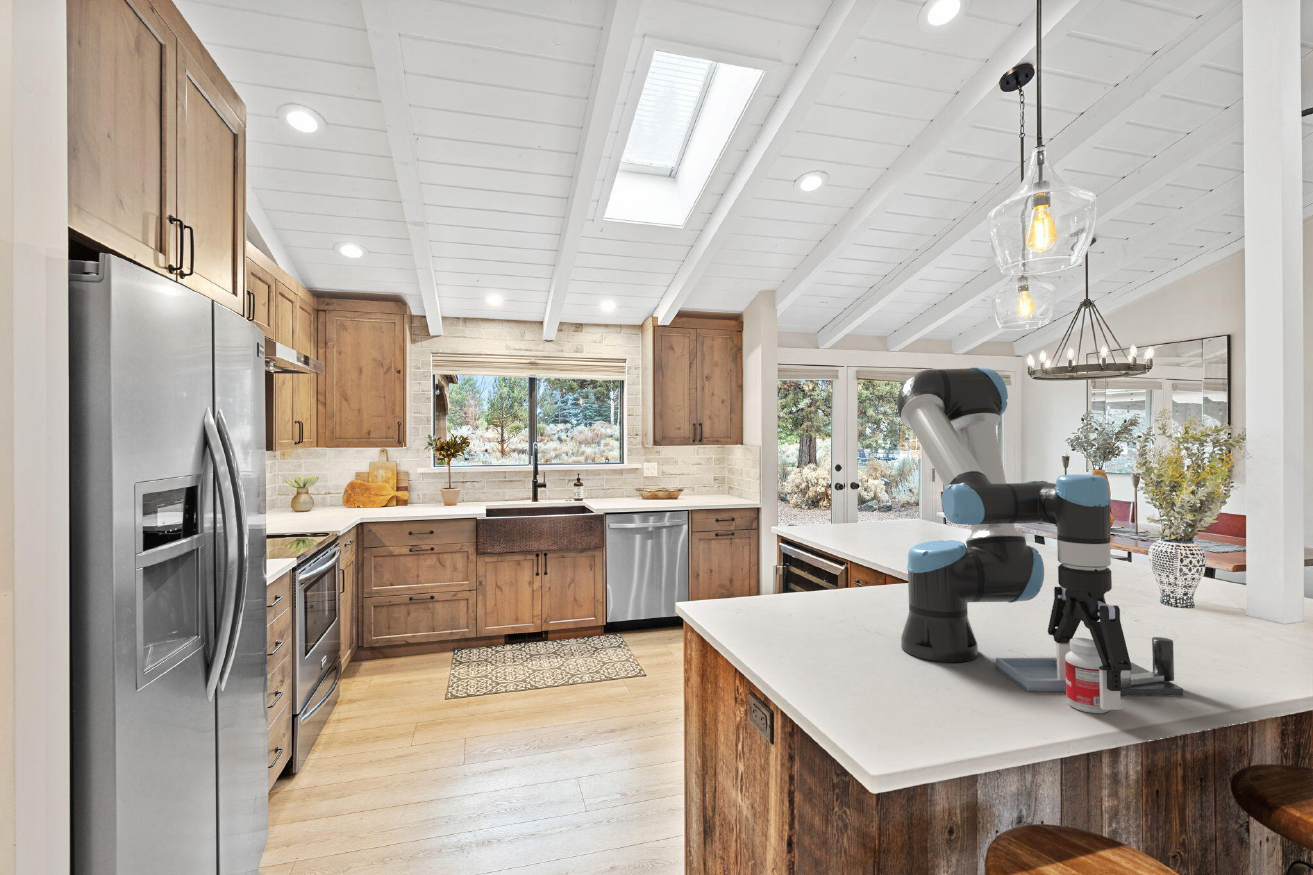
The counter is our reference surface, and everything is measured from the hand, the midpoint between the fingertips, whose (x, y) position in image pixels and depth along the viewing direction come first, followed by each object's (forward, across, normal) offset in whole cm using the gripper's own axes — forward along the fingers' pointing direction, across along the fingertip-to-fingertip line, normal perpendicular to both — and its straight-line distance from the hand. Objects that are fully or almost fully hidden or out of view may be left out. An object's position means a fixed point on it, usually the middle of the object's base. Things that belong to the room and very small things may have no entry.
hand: (1087, 693), depth 106 cm
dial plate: (+2, +12, -12) cm, 17 cm away
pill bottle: (+2, 0, 0) cm, 2 cm away
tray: (+2, +12, +1) cm, 12 cm away
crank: (+1, +7, -14) cm, 15 cm away
